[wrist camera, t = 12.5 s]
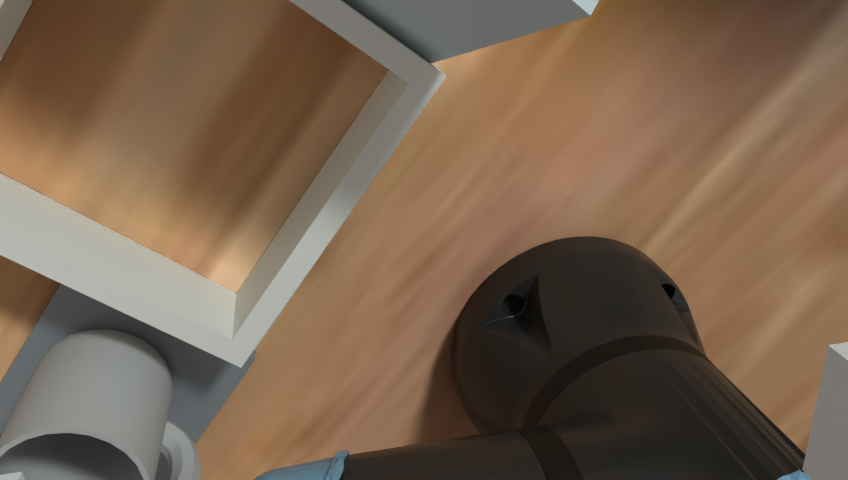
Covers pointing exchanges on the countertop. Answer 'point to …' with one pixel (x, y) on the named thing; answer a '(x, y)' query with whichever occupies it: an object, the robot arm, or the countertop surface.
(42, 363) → the cup
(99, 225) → the cold frame
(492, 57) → the countertop surface
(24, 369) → the slate tile
